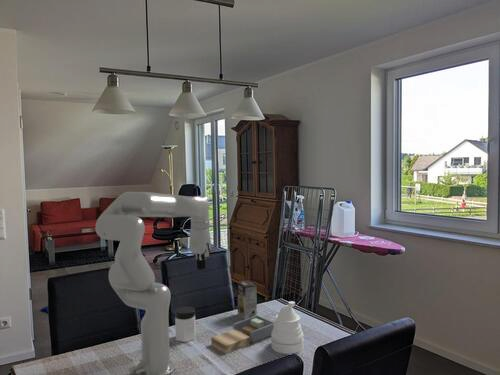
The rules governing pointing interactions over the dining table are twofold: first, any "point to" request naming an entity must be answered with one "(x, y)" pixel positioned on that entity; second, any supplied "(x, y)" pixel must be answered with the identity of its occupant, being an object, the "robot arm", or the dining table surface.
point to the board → (230, 341)
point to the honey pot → (287, 331)
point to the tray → (259, 333)
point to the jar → (185, 324)
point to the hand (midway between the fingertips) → (201, 268)
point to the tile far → (257, 323)
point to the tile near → (248, 329)
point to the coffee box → (247, 299)
